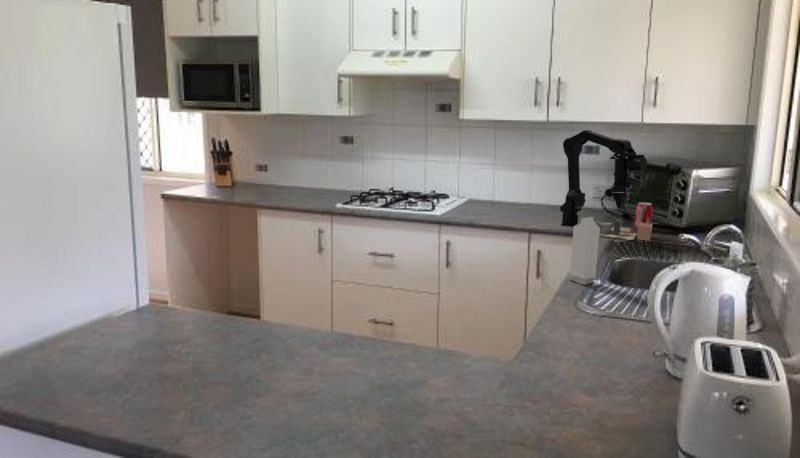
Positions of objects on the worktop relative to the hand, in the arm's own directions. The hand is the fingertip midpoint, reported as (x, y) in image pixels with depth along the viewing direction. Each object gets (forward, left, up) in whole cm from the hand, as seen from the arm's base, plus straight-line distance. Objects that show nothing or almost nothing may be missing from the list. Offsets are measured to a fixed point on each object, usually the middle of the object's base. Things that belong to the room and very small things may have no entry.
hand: (620, 206), depth 288 cm
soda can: (+8, +18, -13) cm, 24 cm away
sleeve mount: (-4, -1, -13) cm, 14 cm away
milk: (-2, -74, -13) cm, 75 cm away
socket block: (+11, -1, -13) cm, 17 cm away
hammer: (-4, -1, -11) cm, 12 cm away
